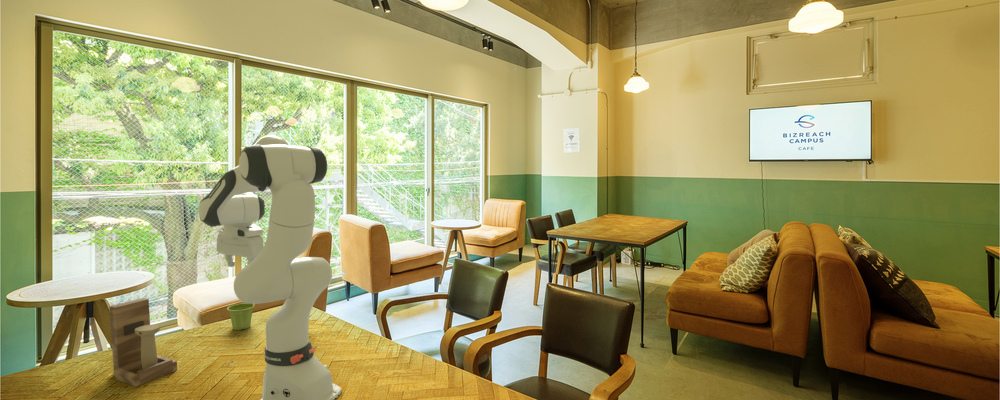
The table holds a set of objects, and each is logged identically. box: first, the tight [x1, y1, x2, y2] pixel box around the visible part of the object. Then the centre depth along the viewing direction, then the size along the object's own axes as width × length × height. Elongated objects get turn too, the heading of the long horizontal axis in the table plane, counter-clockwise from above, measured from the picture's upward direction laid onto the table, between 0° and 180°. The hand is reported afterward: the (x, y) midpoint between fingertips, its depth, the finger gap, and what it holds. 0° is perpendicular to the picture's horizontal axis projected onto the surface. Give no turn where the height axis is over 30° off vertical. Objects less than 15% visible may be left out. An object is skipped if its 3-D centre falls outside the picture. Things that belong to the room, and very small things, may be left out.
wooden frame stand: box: [108, 297, 178, 388], centre depth 135 cm, size 14×11×22 cm
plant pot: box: [226, 302, 256, 331], centre depth 173 cm, size 9×9×9 cm
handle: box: [135, 324, 161, 370], centre depth 135 cm, size 5×6×15 cm
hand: (240, 268), depth 153 cm, fingers open, 8 cm apart
